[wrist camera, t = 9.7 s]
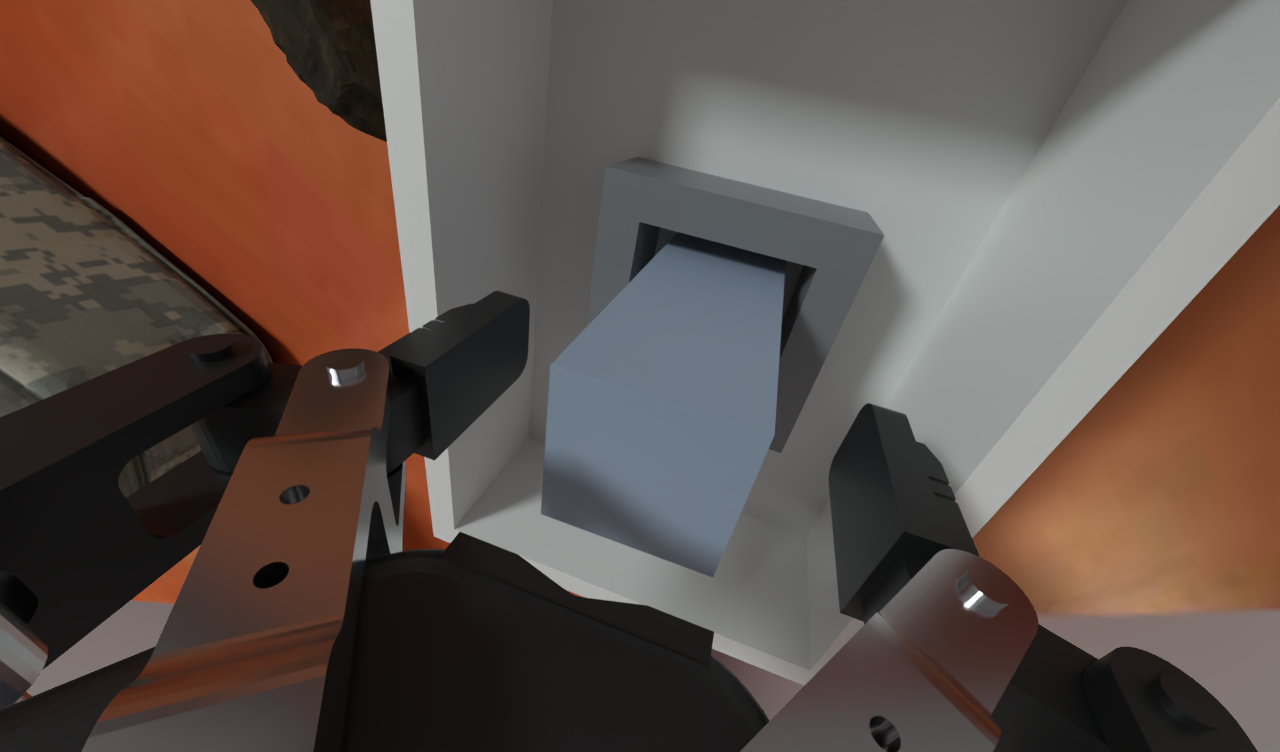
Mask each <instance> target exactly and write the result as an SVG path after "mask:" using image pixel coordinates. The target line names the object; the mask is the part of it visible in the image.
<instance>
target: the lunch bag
mask: <svg viewBox="0 0 1280 752" xmlns="http://www.w3.org/2000/svg"><path fill="white" fill-rule="evenodd" d="M212 334H241V335H247V336H250V337H253V338H255V339H257V340H259V339H258V337H257V336H256V335H255V334H254V333H253V332H252V331H251V330H250V329H249V328H248V327H247V326H246V325H245V324H244V323H243V322H241V321H240V320H239V319H238V318H237V317H236V316H234V315H233V314H232V313H231V312H230V311H229V310H228V309H226V308H225V307H224V306H223V305H222V304H221V303H220V302H219V301H217V300H216V299H215V298H214V297H213V296H212V295H210V294H209V293H208V292H207V291H206V290H204V289H203V288H202V287H201V286H200V285H199V284H197V283H196V282H195V281H194V280H193V279H191V278H190V277H189V276H188V275H187V274H185V273H184V272H183V271H181V270H180V269H179V268H178V267H176V266H175V265H174V264H173V263H171V262H170V261H169V260H168V259H166V258H165V257H164V256H163V255H161V254H160V253H159V252H158V251H156V250H155V249H154V248H153V247H151V246H150V245H149V244H148V243H147V242H145V241H144V240H143V239H142V238H140V237H139V236H138V235H137V234H136V233H135V232H134V231H132V230H131V229H130V228H129V227H128V226H127V225H126V224H125V223H124V222H123V221H121V220H120V219H119V218H117V217H116V216H115V215H113V214H112V213H111V212H109V211H108V210H107V209H105V208H104V207H103V206H101V205H100V204H99V203H97V202H96V201H94V200H93V199H92V198H88V197H84V196H83V195H82V194H80V193H79V192H77V191H76V190H75V189H73V188H72V187H70V186H69V185H67V184H66V183H65V182H63V181H62V180H60V179H59V178H58V177H56V176H55V175H53V174H52V173H50V172H49V171H48V170H46V169H45V168H44V167H42V166H41V165H39V164H38V163H37V162H35V161H34V160H33V159H31V158H30V157H29V156H27V155H26V154H24V153H23V152H22V151H20V150H19V149H18V148H16V147H15V146H13V145H12V144H11V143H9V142H8V141H6V140H5V139H4V138H2V137H1V136H0V417H2V416H5V415H7V414H9V413H12V412H14V411H17V410H19V409H21V408H24V407H26V406H29V405H31V404H33V403H36V402H38V401H41V400H43V399H45V398H48V397H50V396H53V395H55V394H57V393H60V392H62V391H65V390H67V389H69V388H72V387H74V386H77V385H79V384H81V383H84V382H86V381H89V380H91V379H93V378H96V377H98V376H100V375H103V374H105V373H108V372H110V371H112V370H115V369H117V368H120V367H122V366H124V365H127V364H129V363H132V362H134V361H136V360H139V359H141V358H144V357H146V356H148V355H151V354H153V353H156V352H158V351H160V350H163V349H165V348H168V347H170V346H172V345H175V344H177V343H180V342H182V341H185V340H188V339H192V338H196V337H200V336H206V335H212ZM259 341H260V340H259ZM260 343H261V344H262V347H263V350H264V353H265V356H266V359H267V361H268V363H273V362H272V359H271V357H270V355H269V353H268V351H267V349H266V347H265V346H264V345H263V343H262V342H261V341H260ZM200 451H201V448H200V446H199V444H198V442H197V440H196V438H195V436H194V434H193V432H192V430H191V428H190V426H188V427H186V428H185V429H183V430H181V431H179V432H178V433H176V434H174V435H172V436H171V437H169V438H167V439H165V440H164V441H162V442H160V443H158V444H157V445H155V446H153V447H151V448H150V449H148V450H146V451H144V452H143V453H141V454H139V455H137V456H136V457H134V458H133V459H132V460H131V461H129V462H128V463H127V464H126V465H125V467H124V468H123V469H122V471H121V473H120V475H119V479H118V485H119V488H120V490H121V492H122V493H123V495H124V496H125V498H126V497H128V496H129V495H131V494H133V493H134V492H136V491H137V490H139V489H141V488H142V487H144V486H145V485H147V484H149V483H150V482H152V481H153V480H155V479H157V478H158V477H160V476H161V475H163V474H165V473H166V472H168V471H169V470H171V469H173V468H174V467H176V466H177V465H179V464H181V463H182V462H184V461H185V460H187V459H189V458H190V457H192V456H193V455H195V454H196V453H198V452H200Z"/></svg>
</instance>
